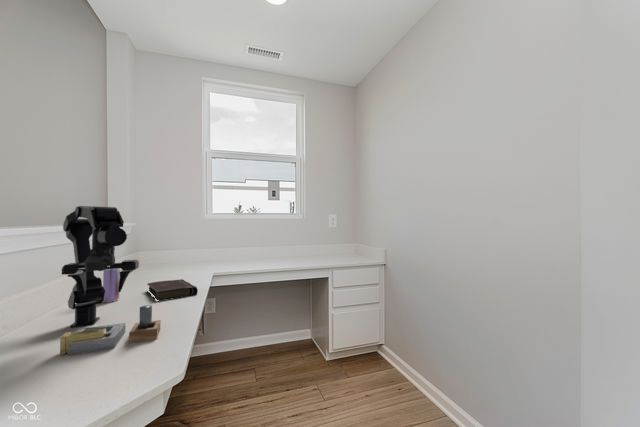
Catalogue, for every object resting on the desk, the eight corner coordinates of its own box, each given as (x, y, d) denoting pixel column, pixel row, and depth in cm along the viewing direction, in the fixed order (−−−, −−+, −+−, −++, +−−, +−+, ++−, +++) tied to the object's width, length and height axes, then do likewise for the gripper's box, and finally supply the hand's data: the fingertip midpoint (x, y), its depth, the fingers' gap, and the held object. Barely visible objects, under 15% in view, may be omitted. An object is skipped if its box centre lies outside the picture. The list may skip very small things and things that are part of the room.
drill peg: (140, 334, 84) (140, 305, 84) (152, 333, 85) (152, 304, 86) (138, 338, 81) (138, 308, 81) (150, 336, 82) (151, 307, 83)
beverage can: (110, 303, 118) (110, 269, 119) (99, 302, 119) (100, 268, 120) (122, 299, 124) (123, 267, 125) (112, 298, 125) (112, 266, 126)
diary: (183, 287, 150) (184, 278, 151) (197, 296, 132) (197, 285, 132) (144, 292, 138) (145, 282, 138) (153, 303, 119) (154, 291, 120)
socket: (85, 337, 82) (86, 328, 82) (125, 332, 86) (125, 322, 86) (68, 355, 71) (68, 344, 71) (114, 347, 75) (114, 337, 75)
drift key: (65, 350, 74) (65, 332, 74) (106, 343, 78) (106, 326, 78) (59, 355, 71) (60, 336, 71) (102, 348, 75) (102, 330, 75)
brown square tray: (135, 332, 85) (135, 323, 85) (160, 329, 88) (160, 320, 88) (129, 343, 78) (129, 332, 78) (156, 338, 81) (156, 328, 81)
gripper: (53, 248, 76) (51, 304, 75) (132, 245, 83) (131, 296, 83) (70, 245, 86) (69, 294, 85) (139, 243, 93) (138, 288, 93)
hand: (102, 293), depth 86 cm, fingers open, 9 cm apart
